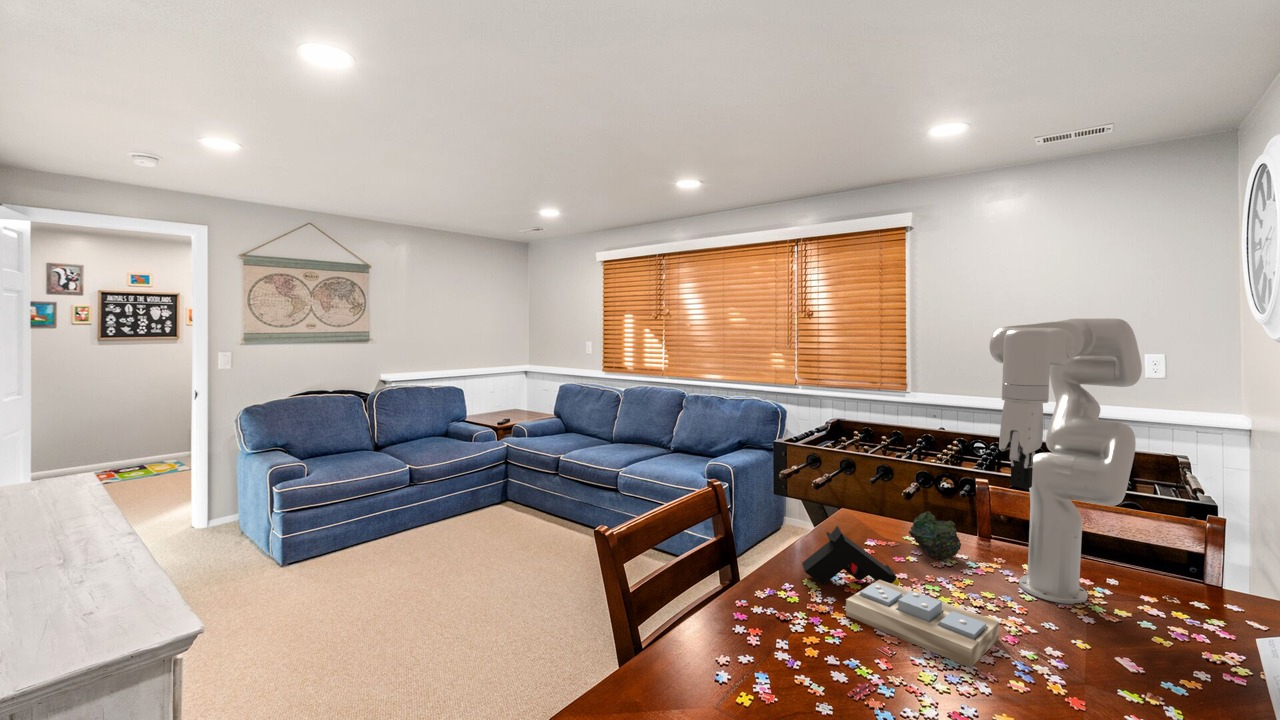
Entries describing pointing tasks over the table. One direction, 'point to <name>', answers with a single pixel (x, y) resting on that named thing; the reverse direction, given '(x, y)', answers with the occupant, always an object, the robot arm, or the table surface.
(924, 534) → the rock
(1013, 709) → the table surface
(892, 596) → the tile three
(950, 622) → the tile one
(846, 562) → the toy gun
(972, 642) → the board
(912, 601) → the tile two
